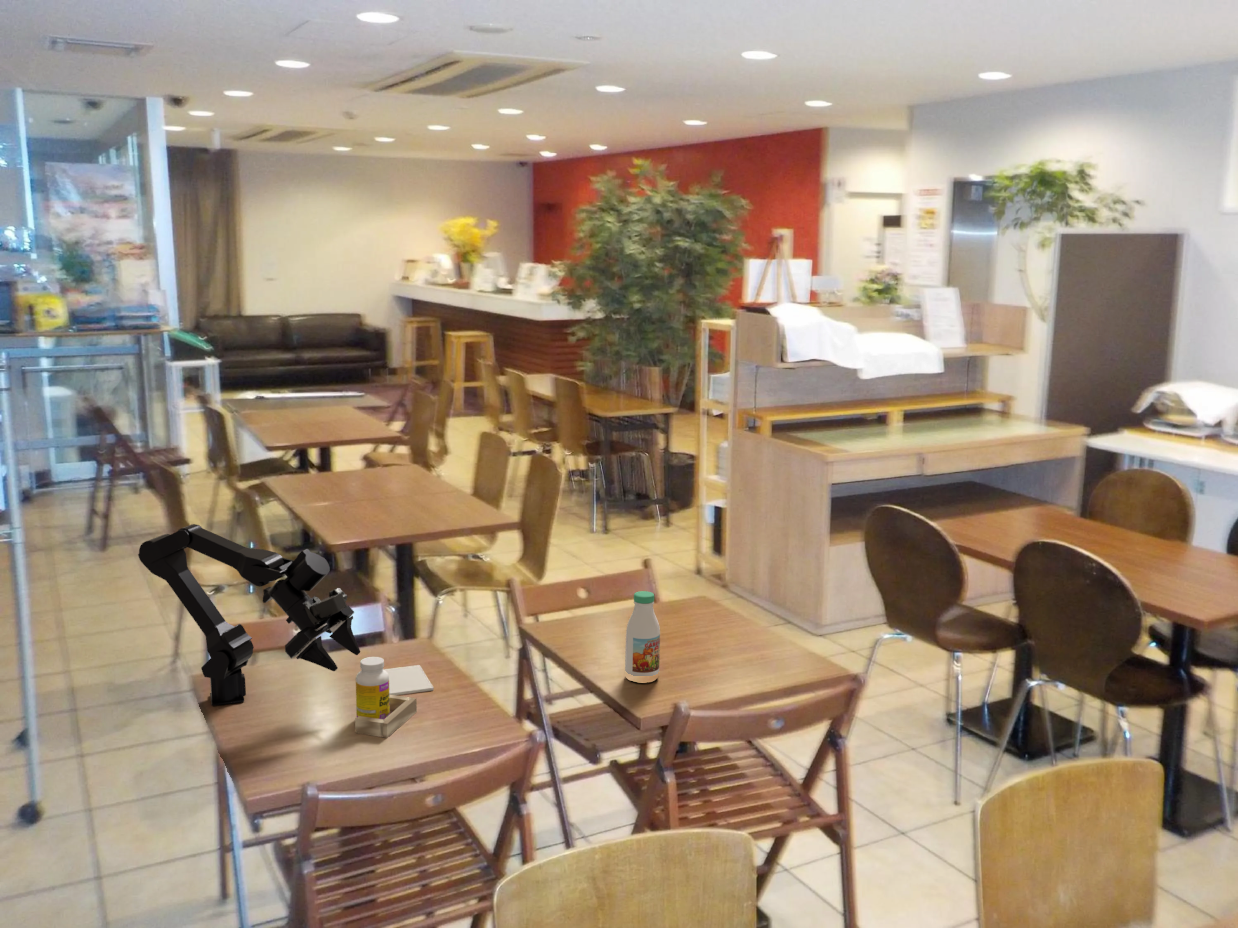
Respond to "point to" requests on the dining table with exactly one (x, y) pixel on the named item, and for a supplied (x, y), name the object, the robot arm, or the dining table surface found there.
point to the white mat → (408, 680)
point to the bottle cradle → (388, 718)
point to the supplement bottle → (372, 689)
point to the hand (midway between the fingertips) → (347, 661)
